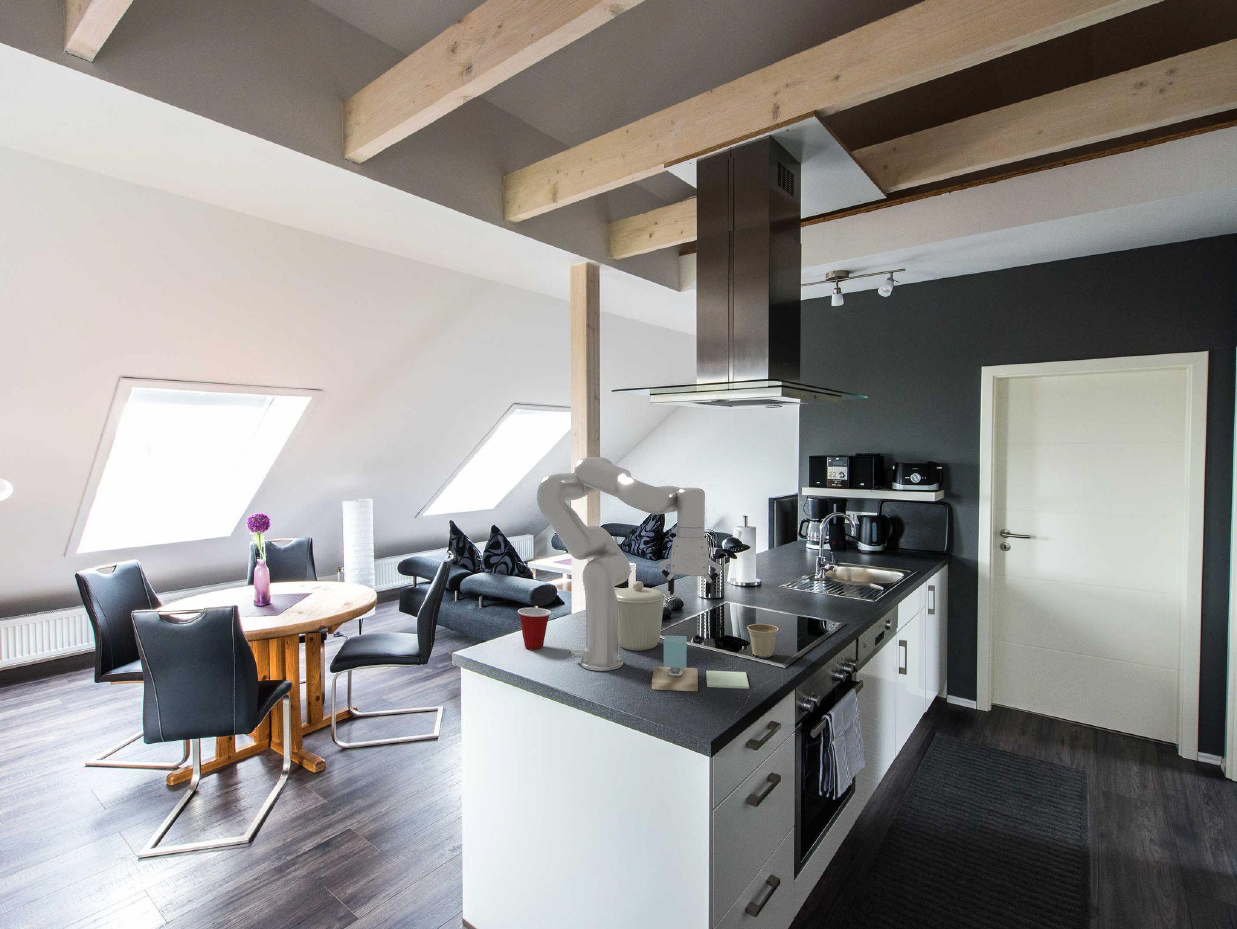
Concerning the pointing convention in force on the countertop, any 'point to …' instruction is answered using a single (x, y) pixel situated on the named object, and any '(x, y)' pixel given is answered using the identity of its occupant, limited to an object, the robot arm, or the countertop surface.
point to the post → (675, 672)
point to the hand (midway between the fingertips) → (689, 595)
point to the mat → (727, 679)
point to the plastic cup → (534, 626)
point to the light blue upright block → (675, 651)
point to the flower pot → (762, 638)
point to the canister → (639, 617)
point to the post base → (675, 679)
